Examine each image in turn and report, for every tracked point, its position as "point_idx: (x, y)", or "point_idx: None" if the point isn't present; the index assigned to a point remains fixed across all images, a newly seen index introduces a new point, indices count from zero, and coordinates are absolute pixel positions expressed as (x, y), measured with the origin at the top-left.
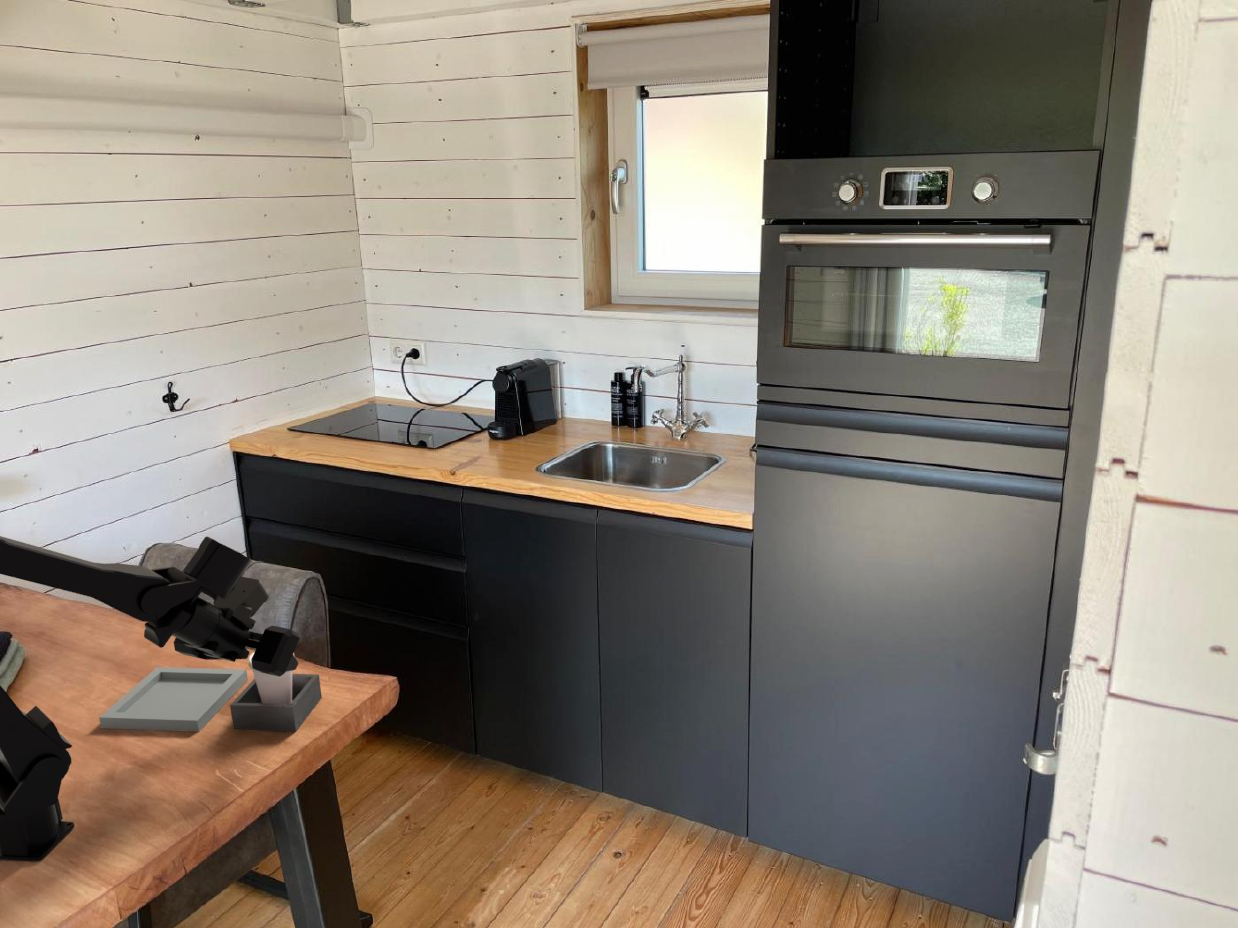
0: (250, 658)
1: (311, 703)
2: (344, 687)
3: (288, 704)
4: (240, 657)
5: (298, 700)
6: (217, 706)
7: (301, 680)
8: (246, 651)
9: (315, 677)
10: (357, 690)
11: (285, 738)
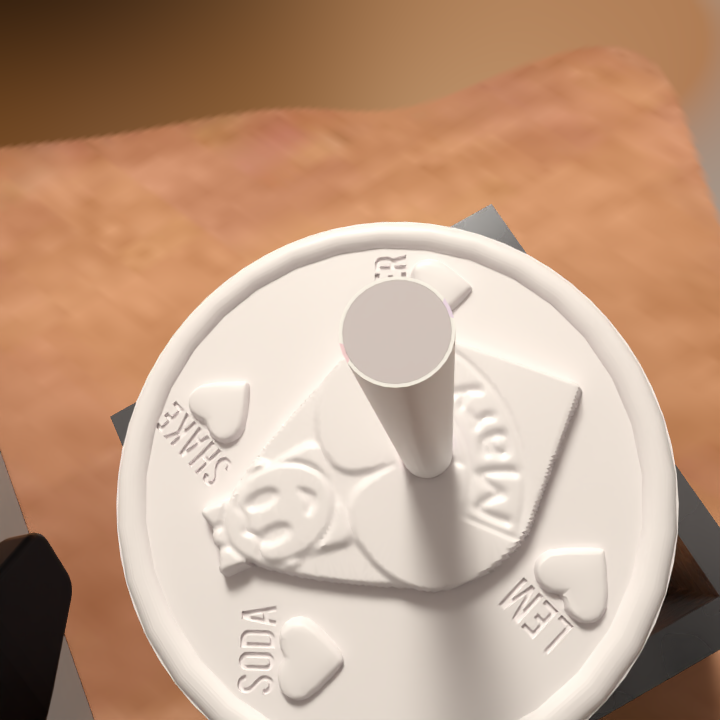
0: (219, 691)
1: None
2: (492, 149)
3: (711, 606)
4: (41, 691)
5: (706, 514)
6: (69, 709)
7: None
8: (18, 580)
9: (509, 241)
10: (579, 129)
11: (714, 688)
